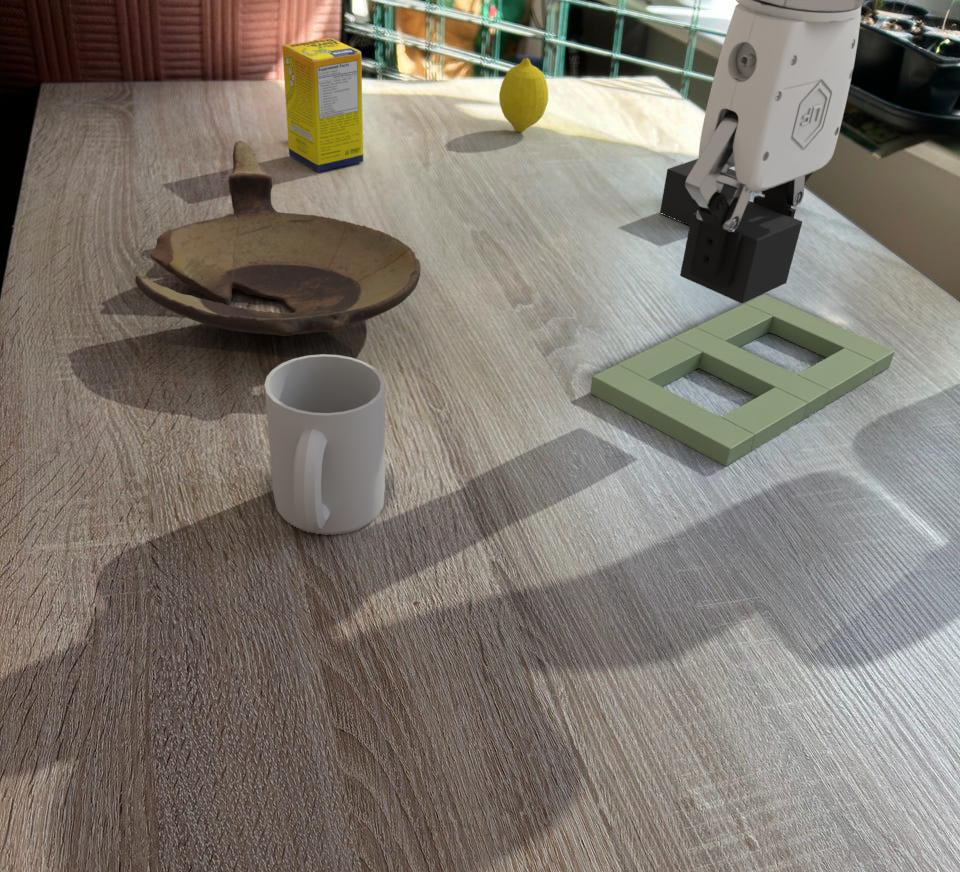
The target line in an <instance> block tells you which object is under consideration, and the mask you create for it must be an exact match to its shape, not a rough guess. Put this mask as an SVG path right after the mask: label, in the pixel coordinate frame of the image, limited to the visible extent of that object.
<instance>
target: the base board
mask: <svg viewBox="0 0 960 872" xmlns="http://www.w3.org/2000/svg"><path fill="white" fill-rule="evenodd" d="M768 333H771V334H773V335H774V336H775V335H776V336H777V337H780V338H782V339H784V340H786V341H789V342H791V343H793V344H795V345H797V346H799V347H802V348H804V349H806V350H808V351H811V352H813V353H815V354H817V355H818V356H821V357H824V359H822V360H821V361H819V362H816V363H815V364H814V365H812V366H810V367H808V368H806V369H805V370H803V371H801V372H799V373H794V372H792V371H790V370H788V369H785V368H784V367H782V366H779V365H777V364H775V363H772V362H770V361H768V360H766V359H765V358H762V357H760V356H758V355H755V354H754V353H751V352H749V351H748V350H745V349H743V348H741V347H743V346H745V345H746V344H749V343H751V342H753V341H754V340H756V339H758V338H761V337H762V336H764V335H767V334H768ZM895 351H896V350H894V349H892V348H890V347H887V346H884V345H883V344H881V343H877V342H875V341H873V340H871V339H868V338H866V337H864V336H862V335H860V334H857V333H855V332H852V331H850V330H848V329H845V328H843V327H841V326H838V325H836V324H834V323H831V322H830V321H827V320H825V319H823V318H820V317H818V316H815V315H813V314H811V313H809V312H806V311H804V310H802V309H800V308H798V307H795V306H793V305H790V304H788V303H786V302H783V301H781V300H778V299H776V298H774V297H772V296H769V295H768V294H766V293H764V294H762V295H760V296H757V297H755V298H753V299H751V300H749V301H747V302H745V303H741V304H740V305H738V306H736V307H734V308H732V309H730V310H727V311H725V312H724V313H721V314H719V315H717V316H715V317H713V318H711V319H709V320H707V321H705V322H702V323H700V324H698V325H696V326H694V327H693V328H690V329H688V330H686V331H684V332H682V333H680V334H677V335H676V336H674V337H672V338H670V339H666V340H665V341H663V342H661V343H659V344H657V345H655V346H652V347H651V348H649V349H647V350H644V351H642V352H640V353H638V354H635V355H634V356H631V357H630V358H628V359H625V360H623V361H621V362H619V363H618V364H615V365H613V366H611V367H609V368H607V369H604V370H603V371H600V372H598V373H596V374H594V375H592V378H591V384H590V390H589V391H590V392H589V393H590V394H591V395H592V396H595V397H596V398H598V399H600V400H602V401H604V402H606V403H608V404H609V405H611V406H613V407H614V408H617V409H619V410H621V411H623V412H624V413H626V414H627V415H629V416H632V417H633V418H635V419H637V420H639V421H641V422H643V423H645V424H647V425H648V426H650V427H652V428H654V429H656V430H658V431H659V432H661V433H663V434H665V435H667V436H668V437H671V438H673V439H674V440H677V441H678V442H680V443H682V444H684V445H685V446H687V447H689V448H691V449H693V450H695V451H696V452H698V453H700V454H702V455H704V456H705V457H707V458H709V459H711V460H713V461H716V462H717V463H718V464H719V463H720V464H721V465H723V466H724V467H727V466H729V465H730V464H732V463H734V462H736V461H738V460H739V459H741V458H742V457H744V456H745V455H747V454H749V453H750V452H752V451H753V450H755V449H757V448H759V447H761V446H762V445H764V444H765V443H767V442H768V441H770V440H772V439H773V438H775V437H777V436H778V435H780V434H781V433H784V432H785V431H787V430H788V429H790V428H792V427H793V426H795V425H796V424H798V423H800V422H801V421H804V420H805V419H806V418H808V417H810V416H811V415H813V414H815V413H816V412H818V411H820V410H821V409H823V408H825V407H827V405H829V404H831V403H832V402H834V401H837V400H838V399H839V398H841V397H843V396H844V395H846V394H848V393H850V392H851V391H853V390H855V389H856V388H857V387H859V386H861V385H862V384H865V383H866V382H867V381H869V380H871V379H872V378H874V377H876V376H877V375H878V374H880V373H882V372H883V371H885V370H888V369H889V368H890V367H891V363H892V361H893V358H894V355H895ZM698 369H699V370H702V371H704V372H706V373H708V374H710V375H712V376H714V377H716V378H719V379H720V380H721V381H724V382H726V383H728V384H730V385H733V387H736V388H738V389H740V390H742V391H744V392H747V393H748V394H750V395H753V396H755V398H753V399H752V400H750V401H748V402H746V403H745V404H742V405H741V406H739V407H737V408H736V409H734V410H732V411H730V412H729V413H727V414H725V415H723V416H722V417H721V416H719V415H717V414H715V413H714V412H712V411H709V410H707V409H705V408H703V407H702V406H700V405H698V404H696V403H694V402H692V401H690V400H688V399H686V398H684V397H682V396H680V395H678V394H676V393H674V392H673V391H670V390H669V389H667V388H664V387H665V386H667V385H669V384H671V383H673V382H675V381H676V380H678V379H680V378H682V377H684V376H686V375H688V374H690V373H692V372H694V371H696V370H698Z"/></svg>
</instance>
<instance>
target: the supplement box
mask: <svg viewBox="0 0 960 872" xmlns="http://www.w3.org/2000/svg"><path fill="white" fill-rule="evenodd" d="M281 47H282V62H283V77H284V79H283V80H284V97H285V111H286V125H287V126H286V127H287V144H288V155H289V157H291V158H292V159H294V160H296V161H297V162H300V163H301V164H302V165H304V166H306V167H308V168H310V169H311V170H314V171H316V172H317V173H320V172H325V171H328V170H332V169H336V168H341V167H345V166H348V165H349V166H350V165H353V164H359V163H363V162H364V124H363V123H364V122H363V121H364V120H363V118H364V117H363V76H362V75H363V72H362V71H363V69H362V68H363V67H362V51H361V50H359V49H357V48H354V47H352V46H349V45H348V44H346V43H343V42H341V41H338V40H337V39H335V38H332V37H326V38H320V39H314V40H313V39H312V40H306V41H301V42H300V41H299V42H295V43H288V44H287V43H286V44H282V45H281Z"/></svg>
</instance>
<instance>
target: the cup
mask: <svg viewBox="0 0 960 872" xmlns="http://www.w3.org/2000/svg"><path fill="white" fill-rule="evenodd" d="M264 396H265V409H266V421H267V432H268V443H269V456H270V457H269V458H270V468H271V481H272V493H273V498H274V503H275V509H276V511H277V512H278V514H279V515H280V516H281V517H282V519H283V520H284V521H285V522H287V523H288V524H289V523H290V524H289V525H291V526H292V525H293V526H292V527H294V528H295V527H296V529H298V528H299V529H298V530H300V529H301V530H300V531H302V530H303V532H305V531H306V532H305V533H309V532H311V533H310V534H313V533H316V534H315V535H318V534H322V535H321V536H338V535H344V534H345V535H346V534H350V533H353V532H355V531H359V530H361V529H363V528H364V527H366V526H368V525H370V524H371V523H372V522H373V521H374V520H375V519H376V518H377V517H378V516H379V515H380V513H381V511H382V510H383V508H384V505H385V493H386V381H385V379H384V377H383V374H382V373H381V372H380V371H379V370H377V368H376V367H375V366H372V365H371V364H369V363H367V362H366V361H363V360H360V359H357V358H354V357H350V356H345V355H339V354H325V353H323V354H322V353H321V354H310V355H304V356H300V357H295V358H292V359H289V360H287V361H284V362H282V363H280V364H278V365H277V366H276V367H274V368H273V369H271V371H270V372H269V374H267V376H266V377H265V382H264ZM323 534H324V535H323ZM329 534H330V535H329ZM337 534H338V535H337Z"/></svg>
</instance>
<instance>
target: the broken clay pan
mask: <svg viewBox="0 0 960 872" xmlns="http://www.w3.org/2000/svg"><path fill="white" fill-rule="evenodd" d="M232 165H233V167H232V173H231V174H230V175H229V177H228V181H227V183H228V188H229V194H230V199H231V207H232V210H233V213H228V214H227V215H224V216H220V217H216V218H211V219H206V220H201V221H195V222H192V223H188V224H185V225H182V226H180V227H176V228H172V229H169V230H167V231H165V232H163V233H162V234H160V235H159V236H158V237H157V239H156V245H155V247H154V248H153V250H152V251H150V253H149V257H150V258H151V259H152V260H153V261H154V262H156V263H157V264H158V265H159V266H160V267H161V268H162V269H164V270H165V271H166V272H168V273H169V274H172V275H173V276H174V277H176V278H177V279H178V280H179V281H181V282H182V283H184V284H186V285H187V286H189V287H190V288H191V290H195V291H196V292H197V293H200V294H202V295H203V296H204V297H206V298H201V297H196V296H193V295H191V294H190V295H189V294H184V293H180V292H177V291H176V290H174V289H171V288H169V287H166V286H162V285H161V284H158V283H156V282H154V281H152V280H150V279H148V278H147V277H144V276H141V275H135V277H134V279H135V280H134V282H135V285H136V286H137V287H138V289H139V290H140V291H141V292H142V294H143V295H145V296H146V297H147V298H148V299H149V300H151V301H153V302H155V303H156V304H158V305H159V306H160V307H162V308H164V309H166V310H169V311H170V312H173V313H175V314H177V315H180V316H182V317H184V318H186V319H189V320H192V321H195V322H197V323H200V324H203V325H207V326H210V327H213V328H217V329H222V330H227V331H232V332H239V333H247V334H256V335H257V334H259V335H270V336H271V335H273V336H274V335H275V336H282V337H286V336H287V337H289V336H290V337H291V336H295V335H306V334H315V333H323V332H338V331H341V330H343V329H344V328H346V327H350V326H353V325H356V324H359V323H362V322H364V321H367V320H370V319H374V318H375V317H377V316H379V315H382V314H384V313H387V312H388V311H390V310H392V309H394V308H395V307H398V306H399V305H400V304H402V303H403V302H404V301H405V300H407V299H408V297H409V296H410V295H411V294H413V292H414V291H415V289H416V288H417V286H418V283H419V281H420V276H421V262H420V259H419V258H416V254H415V252H414V251H413V249H412V247H409V246H408V245H407V244H405V243H404V242H402V241H401V240H399V238H396V237H394V236H392V235H391V234H388V233H386V232H384V231H381V230H379V229H374V228H372V227H369V226H365V225H361V224H357V223H353V222H349V221H347V220H340V219H338V218H332V217H327V216H320V215H317V214H316V215H314V214H301V213H292V212H279V211H277V210H276V209H275V208H274V206H273V204H272V189H273V180H272V179H273V178H272V176H271V175H270V174H267V173H265V172H264V171H263V169H262V167H261V166H260V165H259V162H258V160H257V158H256V156H255V153H254V151H253V150H252V148H251V146H250V145H249V144H248V143H246V142H245V141H243V140H238V141H237V142H236V143H234V146H233V151H232ZM233 289H235V290H238V291H241V292H243V293H244V294H246V295H249V296H254V295H255V297H258V298H259V297H260V298H264V299H268V300H276V301H278V302H282V303H284V304H285V306H286V307H287V308H289V309H290V311H291V312H273V311H270V310H269V311H263V310H255V309H251V310H249V309H248V308H246V307H245V308H244V307H240V306H233V305H231V302H232V298H233V292H232V291H233ZM209 299H210V300H209Z"/></svg>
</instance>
